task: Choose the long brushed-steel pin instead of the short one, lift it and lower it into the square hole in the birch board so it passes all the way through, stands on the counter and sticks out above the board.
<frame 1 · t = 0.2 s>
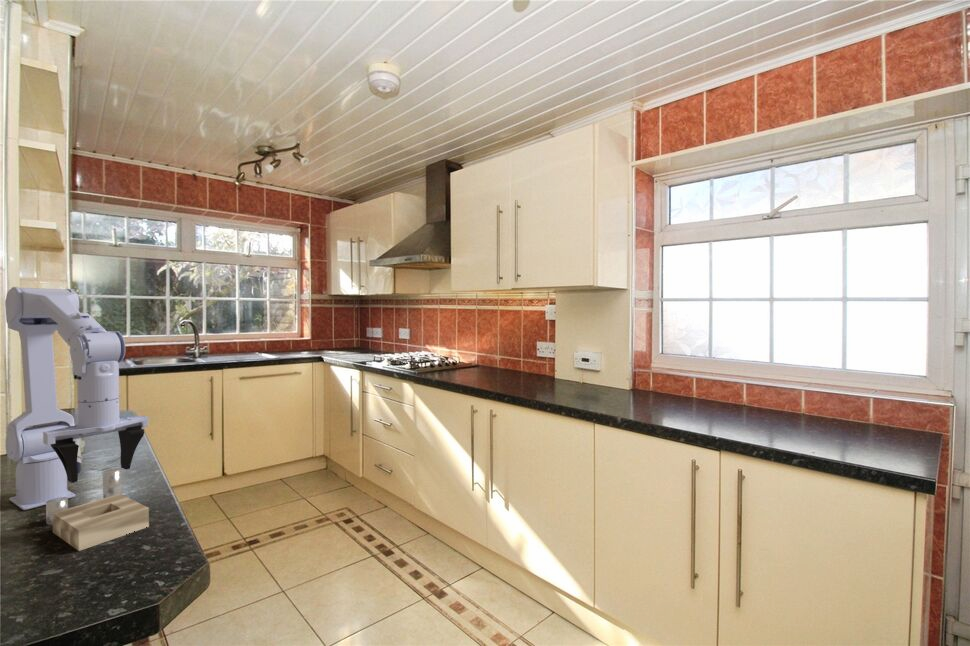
hand: (100, 474, 82), 10 cm above the countertop, tool pointing down, fingers open, 7 cm apart
short steel pin: (57, 521, 85), on the countertop
birch board: (101, 529, 82), on the countertop
white and blue bar: (71, 464, 118), on the countertop
long steel pin: (112, 504, 93), on the countertop
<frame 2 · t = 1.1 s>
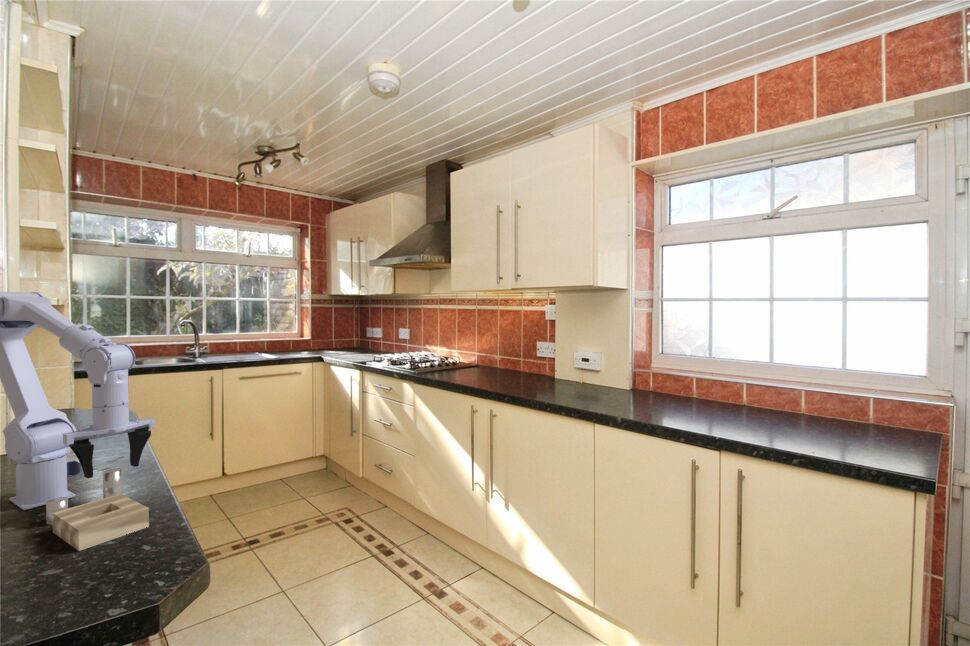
hand: (112, 471, 93), 7 cm above the countertop, tool pointing down, fingers open, 7 cm apart
nothing on the countertop moved.
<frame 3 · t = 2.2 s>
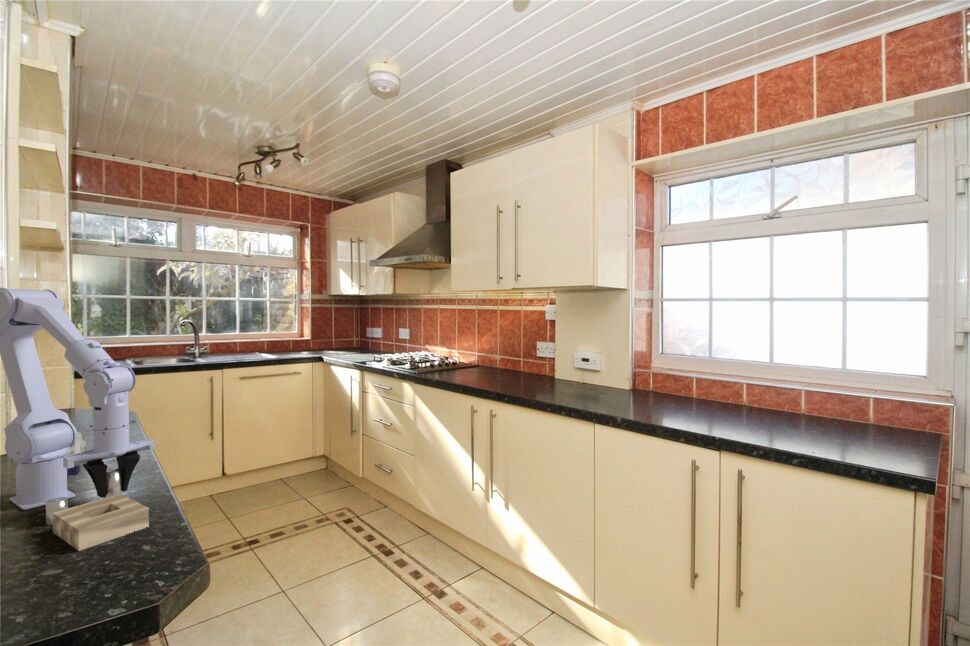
hand: (112, 493, 93), 2 cm above the countertop, tool pointing down, fingers closed on long steel pin, 3 cm apart
long steel pin: (112, 504, 93), on the countertop, touching gripper
everything else where it was.
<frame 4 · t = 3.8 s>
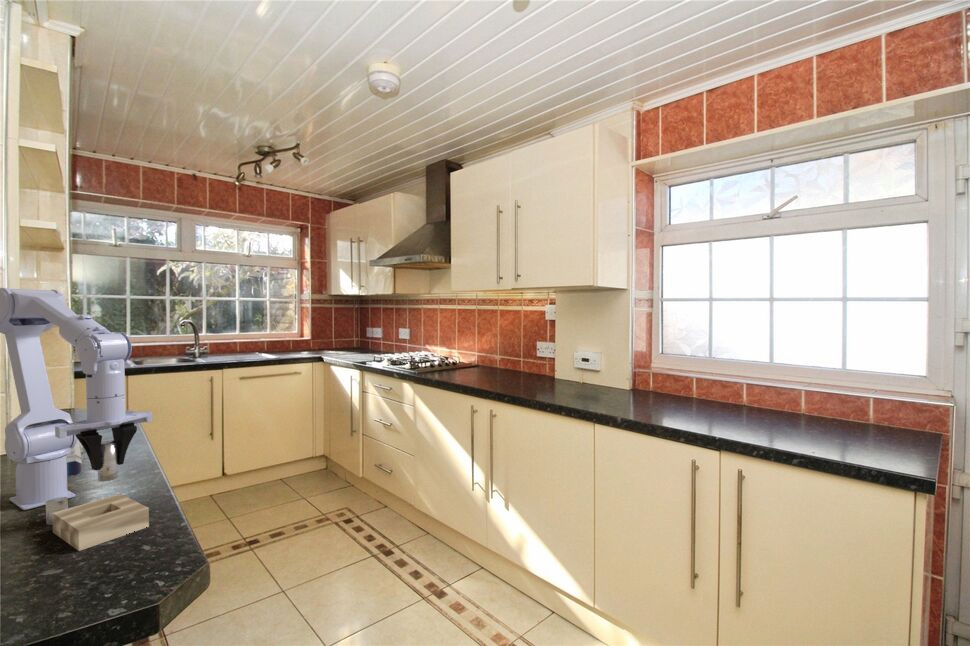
hand: (107, 466, 88), 10 cm above the countertop, tool pointing down, fingers closed on long steel pin, 3 cm apart
long steel pin: (108, 478, 88), point 7 cm above the countertop, touching gripper
everything else where it was.
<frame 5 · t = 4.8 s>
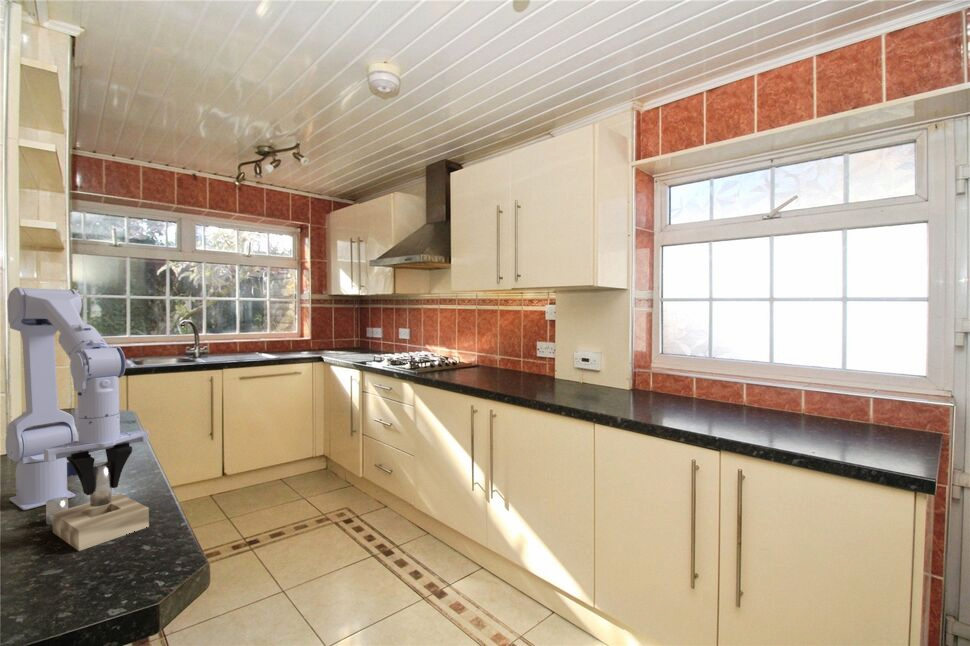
hand: (100, 490, 82), 7 cm above the countertop, tool pointing down, fingers closed on long steel pin, 3 cm apart
long steel pin: (101, 503, 82), point 5 cm above the countertop, touching gripper
everything else where it was.
when the fingers open (5 cm above the countertop, at t = 5.6 s): long steel pin drops 2 cm, resting in birch board.
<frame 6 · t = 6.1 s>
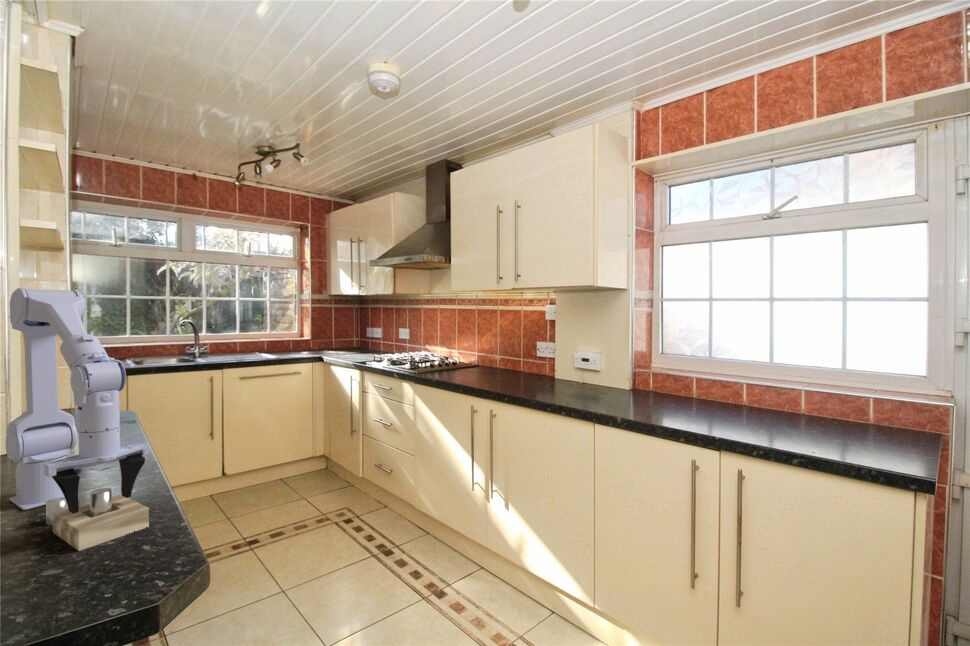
hand: (101, 503, 82), 5 cm above the countertop, tool pointing down, fingers open, 7 cm apart
long steel pin: (101, 529, 82), resting in birch board
everything else where it was.
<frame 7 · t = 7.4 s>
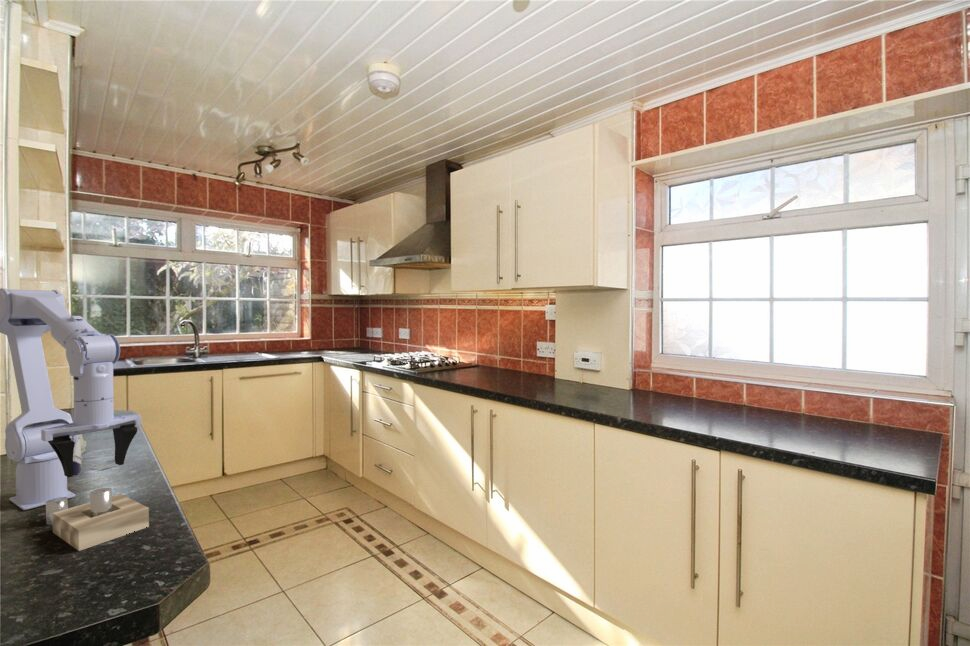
hand: (95, 469, 87), 9 cm above the countertop, tool pointing down, fingers open, 7 cm apart
nothing on the countertop moved.
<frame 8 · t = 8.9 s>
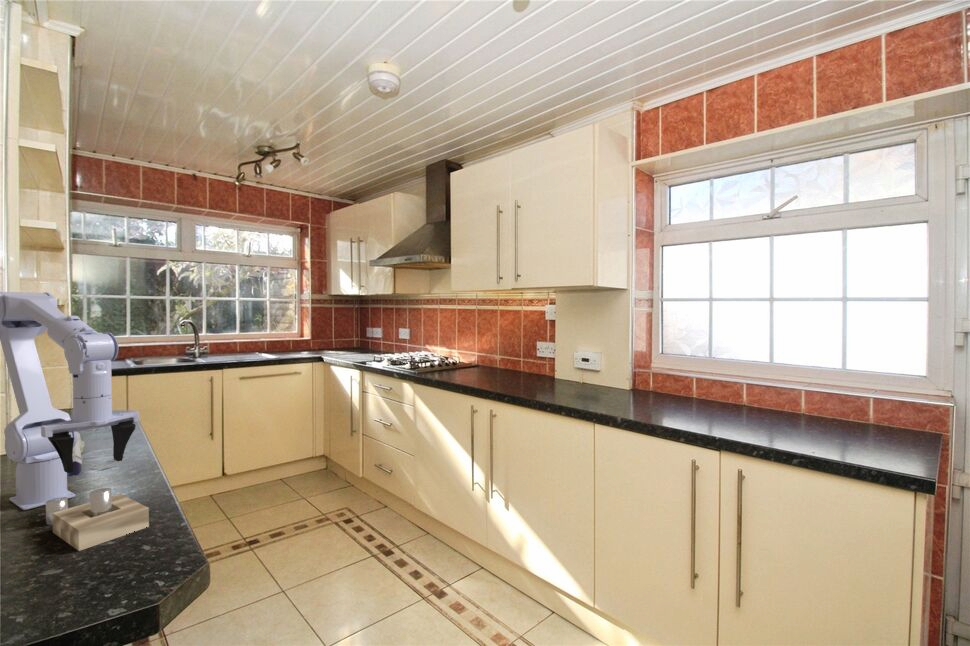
hand: (94, 465, 88), 9 cm above the countertop, tool pointing down, fingers open, 7 cm apart
nothing on the countertop moved.
at the end: long steel pin 0.0 cm off-centre on the birch board, point 0.0 cm above the birch board's base; long steel pin tilted 0°; short steel pin moved 0.0 cm from its start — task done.
